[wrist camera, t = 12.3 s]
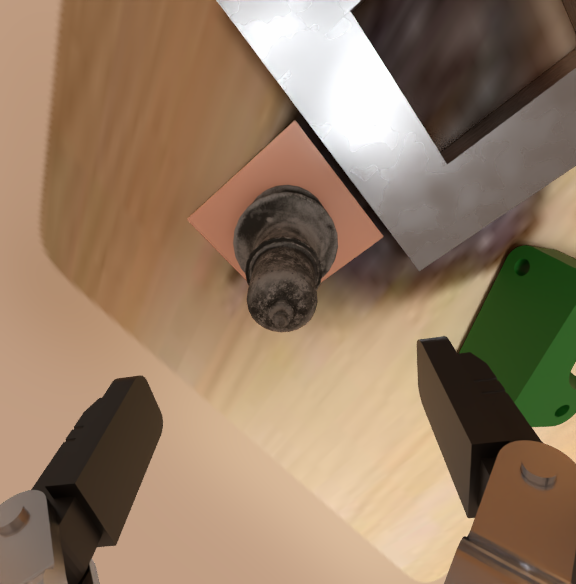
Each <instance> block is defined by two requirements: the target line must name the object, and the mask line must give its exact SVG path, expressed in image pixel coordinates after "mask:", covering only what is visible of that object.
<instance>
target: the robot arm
mask: <svg viewBox="0 0 576 584" xmlns="http://www.w3.org/2000/svg"><path fill="white" fill-rule="evenodd" d="M417 367H418V387H419V393H420V397H421V401H422V404H423V407H424V410H425V412H426V415H427V417H428V420H429V422H430V425H431V427H432V430H433V432H434V435H435V437H436V440H437V442H438V445H439V447H440V450H441V452H442V455H443V457H444V460H445V462H446V465H447V467H448V470H449V472H450V475H451V477H452V480H453V482H454V485H455V487H456V490H457V492H458V495H459V497H460V500H461V502H462V505H463V507H464V510H465V512H466V515H467V517H468V518H475V519H474V522H473V525H472V528H471V530H470V533H469V535H468V536H467V537H465V536H464V537H463V538H462V540H461V542H460V544H459V546H458V548H457V551H456V553H455V556H454V558H453V561H452V564H451V567H450V569H449V572H448V575H447V577H446V580H445V583H444V584H576V464H575V463H574V462H573V461H572V459H570V458H569V457H568V456H567V455H565V454H564V453H562V452H561V451H559V450H558V449H556V448H554V447H552V446H549V445H547V444H544V443H542V441H541V440H540V439H539V437H538V436H537V434H536V433H535V432H534V430H533V429H532V427H531V426H530V424H529V423H528V422H527V420H526V419H525V417H524V416H523V414H522V413H521V412H520V410H519V409H518V407H517V406H516V404H515V403H514V402H513V400H512V399H511V397H510V396H509V394H508V393H506V392H505V389H504V387H503V386H502V384H501V383H500V382H499V380H498V381H497V377H496V376H495V374H494V373H493V372H492V370H491V369H490V367H489V366H488V364H487V363H486V362H484V361H483V360H481V359H480V358H478V357H477V356H475V355H474V354H472V353H471V352H466V353H459V354H457V352H456V351H455V349H454V347H453V346H452V344H451V342H450V341H449V339H448V338H447V337H446V336H443V337H436V338H428V339H420V340H418V341H417ZM162 428H163V419H162V414H161V411H160V409H159V407H158V405H157V402H156V400H155V398H154V396H153V393H152V391H151V389H150V387H149V384H148V382H147V380H146V379H145V377H143V376H133V377H126V378H119V379H115V380H114V381H113V382H112V384H111V385H110V387H109V388H108V390H107V391H106V393H105V394H104V396H103V397H102V398H99V399H98V400H97V401H96V402H95V403H94V404H92V405H91V406H90V407H89V408H88V409H87V410H86V411H85V412H84V413H83V415H82V416H81V417H80V419H79V420H78V422H77V423H76V425H75V426H74V430H72V431H71V432H70V434H69V435H68V437H67V438H66V442H64V443H63V444H62V445H61V447H60V448H59V450H58V451H57V453H56V454H55V456H54V457H53V459H52V460H51V462H50V463H49V465H48V466H47V467H46V469H45V470H44V472H43V473H42V475H41V476H40V478H39V479H38V481H37V482H36V484H35V485H34V487H33V488H32V489H31V490H29V491H25V492H22V493H19V494H17V495H15V496H13V497H11V498H10V499H8V500H6V501H5V502H3V503H2V504H1V505H0V584H100V583H99V579H98V574H97V570H96V566H95V563H94V562H93V560H92V556H93V554H94V552H95V550H96V547H102V546H115V545H116V544H117V541H118V539H119V536H120V534H121V531H122V529H123V527H124V524H125V522H126V519H127V517H128V514H129V512H130V510H131V507H132V505H133V502H134V500H135V497H136V495H137V492H138V490H139V487H140V485H141V482H142V480H143V477H144V475H145V472H146V470H147V468H148V465H149V463H150V460H151V458H152V455H153V453H154V450H155V448H156V445H157V443H158V441H159V438H160V436H161V433H162Z"/></svg>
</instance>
